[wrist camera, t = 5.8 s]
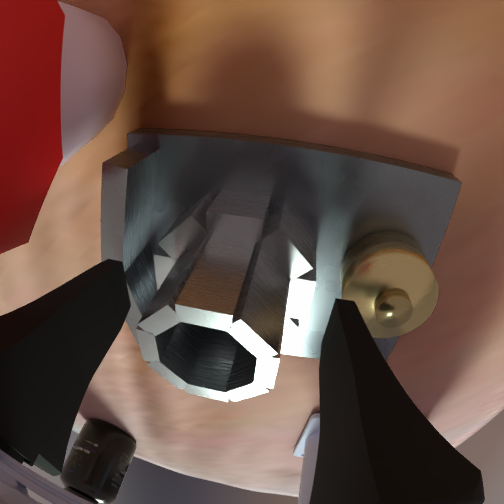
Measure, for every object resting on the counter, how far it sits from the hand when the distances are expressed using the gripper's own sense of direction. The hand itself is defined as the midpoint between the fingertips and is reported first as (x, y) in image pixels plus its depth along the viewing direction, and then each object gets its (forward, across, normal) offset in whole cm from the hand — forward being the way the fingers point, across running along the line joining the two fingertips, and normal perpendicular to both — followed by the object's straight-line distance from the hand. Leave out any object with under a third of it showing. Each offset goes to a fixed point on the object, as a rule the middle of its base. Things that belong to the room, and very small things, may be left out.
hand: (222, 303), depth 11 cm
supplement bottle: (+5, +14, +29) cm, 33 cm away
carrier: (+4, -1, +1) cm, 5 cm away
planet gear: (+3, 0, 0) cm, 3 cm away
